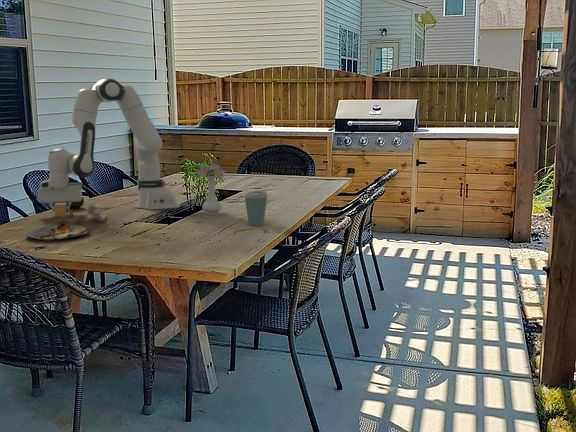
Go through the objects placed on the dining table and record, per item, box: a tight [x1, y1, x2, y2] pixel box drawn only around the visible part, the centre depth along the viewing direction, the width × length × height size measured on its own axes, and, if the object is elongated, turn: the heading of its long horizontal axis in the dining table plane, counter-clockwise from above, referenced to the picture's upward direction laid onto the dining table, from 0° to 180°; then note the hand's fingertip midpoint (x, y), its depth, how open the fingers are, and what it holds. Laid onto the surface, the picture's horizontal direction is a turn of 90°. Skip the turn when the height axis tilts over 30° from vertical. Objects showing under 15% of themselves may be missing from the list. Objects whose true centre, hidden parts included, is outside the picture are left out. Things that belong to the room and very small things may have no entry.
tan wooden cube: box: [53, 202, 68, 217], centre depth 314 cm, size 5×5×6 cm
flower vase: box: [196, 162, 226, 216], centre depth 319 cm, size 13×18×25 cm
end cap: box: [64, 196, 85, 210], centre depth 332 cm, size 10×7×7 cm
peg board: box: [57, 204, 107, 226], centre depth 301 cm, size 20×14×7 cm
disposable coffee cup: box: [243, 190, 268, 227], centre depth 294 cm, size 11×11×15 cm
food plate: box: [25, 224, 91, 242], centre depth 270 cm, size 25×23×4 cm
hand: (60, 211), depth 315 cm, fingers closed on tan wooden cube, 5 cm apart
